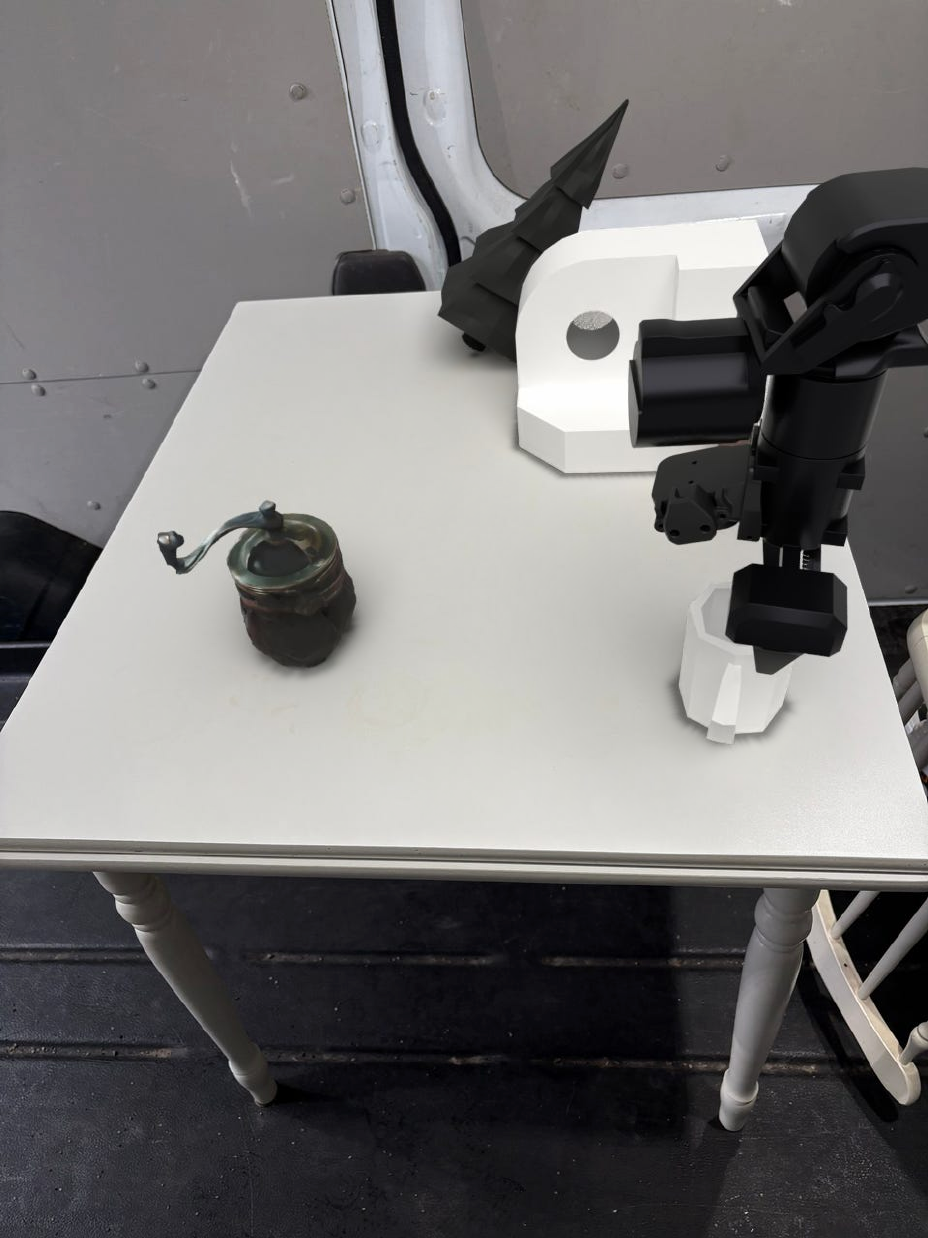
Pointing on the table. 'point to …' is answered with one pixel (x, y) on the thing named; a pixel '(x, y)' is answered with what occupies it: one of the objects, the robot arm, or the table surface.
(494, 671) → the table surface
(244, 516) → the coffee grinder
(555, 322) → the stepped bracket block
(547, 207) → the decorative tree
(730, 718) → the mug
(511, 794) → the table surface
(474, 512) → the table surface
